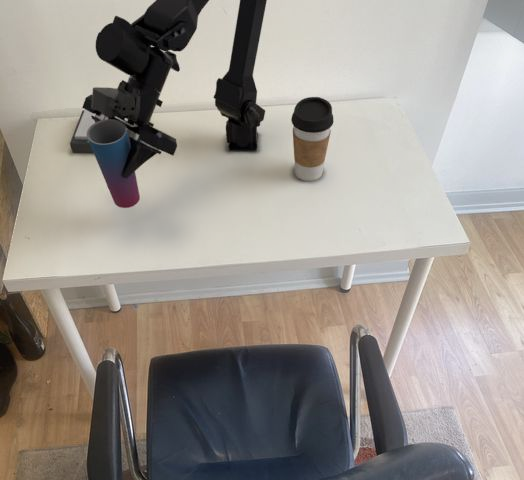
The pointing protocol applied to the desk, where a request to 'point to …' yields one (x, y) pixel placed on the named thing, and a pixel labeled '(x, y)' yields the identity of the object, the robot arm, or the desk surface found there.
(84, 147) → the scale
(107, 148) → the cup
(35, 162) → the desk surface
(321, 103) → the coffee cup
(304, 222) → the desk surface
